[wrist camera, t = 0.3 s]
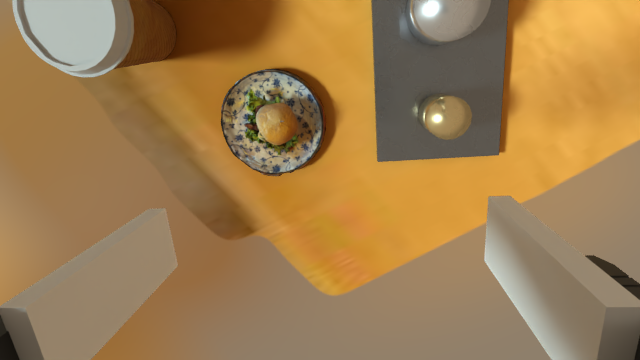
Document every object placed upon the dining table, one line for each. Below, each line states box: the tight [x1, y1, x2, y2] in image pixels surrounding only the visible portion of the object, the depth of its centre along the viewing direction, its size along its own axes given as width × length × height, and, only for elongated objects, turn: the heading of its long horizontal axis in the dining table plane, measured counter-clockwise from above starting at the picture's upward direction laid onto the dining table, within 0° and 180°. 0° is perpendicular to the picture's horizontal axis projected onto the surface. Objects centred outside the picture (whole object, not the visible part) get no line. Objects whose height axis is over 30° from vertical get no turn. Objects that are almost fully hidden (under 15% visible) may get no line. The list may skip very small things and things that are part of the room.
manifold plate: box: [371, 0, 509, 162], centre depth 34 cm, size 20×13×6 cm, turn 5°
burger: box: [221, 69, 326, 176], centre depth 37 cm, size 12×12×8 cm
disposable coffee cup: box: [12, 0, 176, 77], centre depth 33 cm, size 10×10×12 cm
